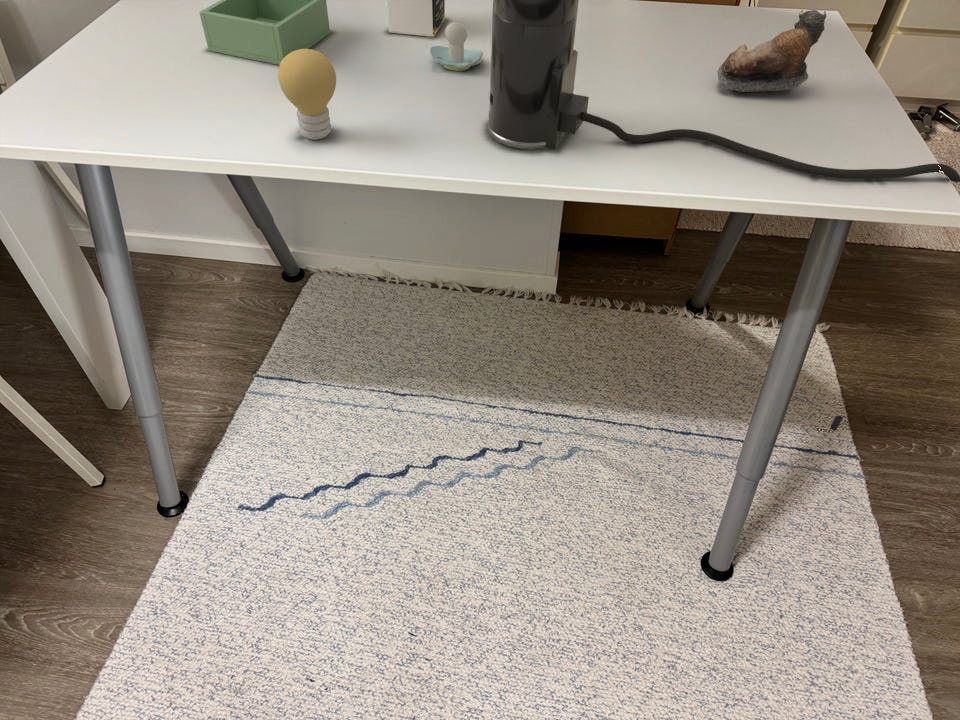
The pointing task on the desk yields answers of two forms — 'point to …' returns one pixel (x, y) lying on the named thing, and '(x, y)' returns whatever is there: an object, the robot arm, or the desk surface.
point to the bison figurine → (774, 59)
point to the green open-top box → (264, 27)
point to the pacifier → (456, 50)
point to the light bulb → (309, 89)
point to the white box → (415, 16)
